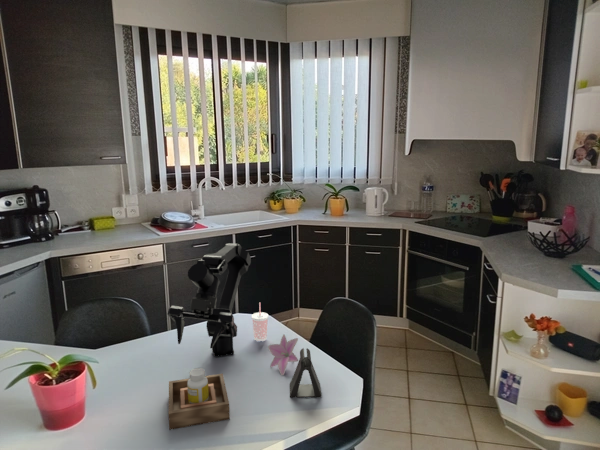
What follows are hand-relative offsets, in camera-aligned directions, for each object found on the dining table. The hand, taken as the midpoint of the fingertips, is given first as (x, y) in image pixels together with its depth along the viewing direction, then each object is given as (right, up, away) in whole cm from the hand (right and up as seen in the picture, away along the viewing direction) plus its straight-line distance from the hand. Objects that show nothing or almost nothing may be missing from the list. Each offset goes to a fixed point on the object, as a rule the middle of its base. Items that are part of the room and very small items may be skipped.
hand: (194, 345), depth 122 cm
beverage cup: (+16, -7, +34) cm, 38 cm away
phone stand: (+32, -14, +1) cm, 34 cm away
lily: (+25, -11, +15) cm, 31 cm away
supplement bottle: (+3, -14, -6) cm, 16 cm away
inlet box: (+2, -15, -6) cm, 16 cm away
